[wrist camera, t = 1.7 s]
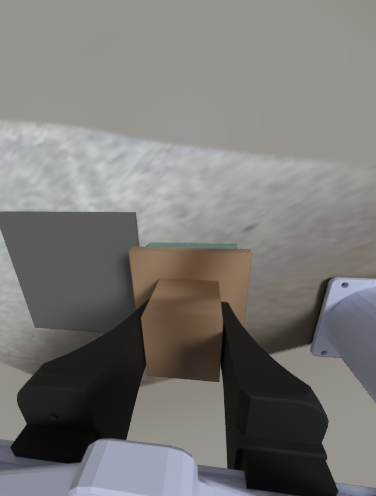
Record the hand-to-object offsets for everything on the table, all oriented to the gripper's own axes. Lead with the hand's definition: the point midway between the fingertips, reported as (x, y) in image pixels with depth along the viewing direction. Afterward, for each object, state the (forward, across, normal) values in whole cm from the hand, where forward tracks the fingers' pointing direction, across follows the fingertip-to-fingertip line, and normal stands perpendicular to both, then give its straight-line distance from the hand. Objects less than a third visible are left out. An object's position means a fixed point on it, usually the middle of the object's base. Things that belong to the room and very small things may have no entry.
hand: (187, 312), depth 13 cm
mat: (+4, +10, 0) cm, 11 cm away
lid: (+2, 0, 0) cm, 2 cm away
